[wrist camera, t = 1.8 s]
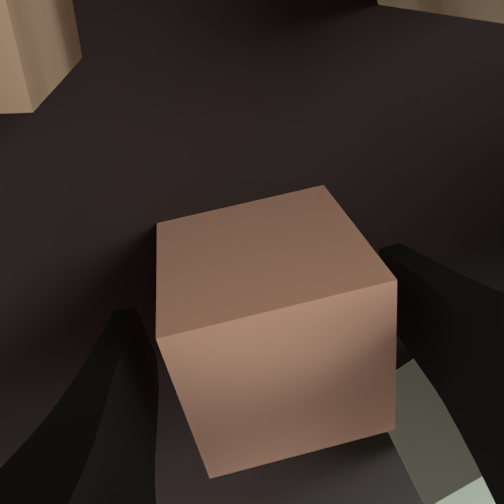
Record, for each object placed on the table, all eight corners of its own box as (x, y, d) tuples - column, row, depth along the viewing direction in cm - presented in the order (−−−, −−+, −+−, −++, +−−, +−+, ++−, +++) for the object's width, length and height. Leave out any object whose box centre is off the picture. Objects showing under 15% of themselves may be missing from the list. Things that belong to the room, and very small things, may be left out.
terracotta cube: (322, 183, 13) (397, 280, 9) (333, 310, 16) (394, 429, 12) (156, 222, 13) (155, 339, 9) (196, 344, 16) (209, 478, 12)
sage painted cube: (471, 318, 18) (568, 427, 13) (514, 377, 20) (607, 484, 16) (366, 388, 19) (425, 508, 14) (419, 435, 21) (483, 550, 17)
